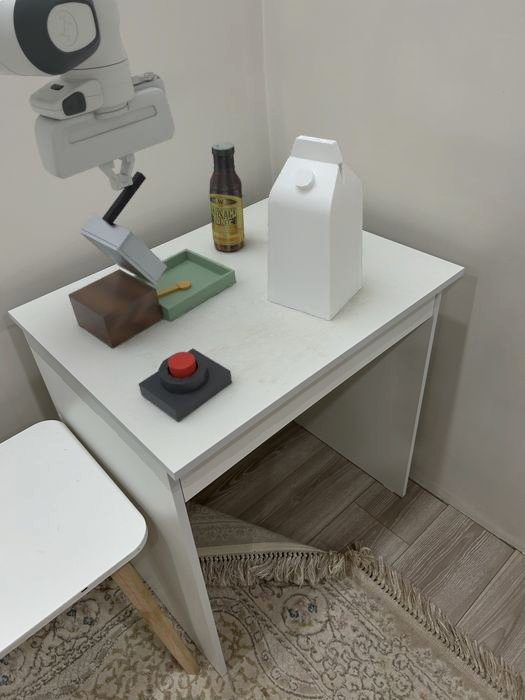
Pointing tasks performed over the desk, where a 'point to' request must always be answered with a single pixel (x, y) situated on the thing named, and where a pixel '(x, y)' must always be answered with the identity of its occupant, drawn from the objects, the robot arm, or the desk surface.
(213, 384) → the grey button base
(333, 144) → the milk
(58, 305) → the desk surface
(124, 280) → the stand
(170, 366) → the bell button
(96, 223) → the grey dustpan
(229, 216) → the sauce bottle
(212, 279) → the tray
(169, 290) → the tan wooden spoon shape
